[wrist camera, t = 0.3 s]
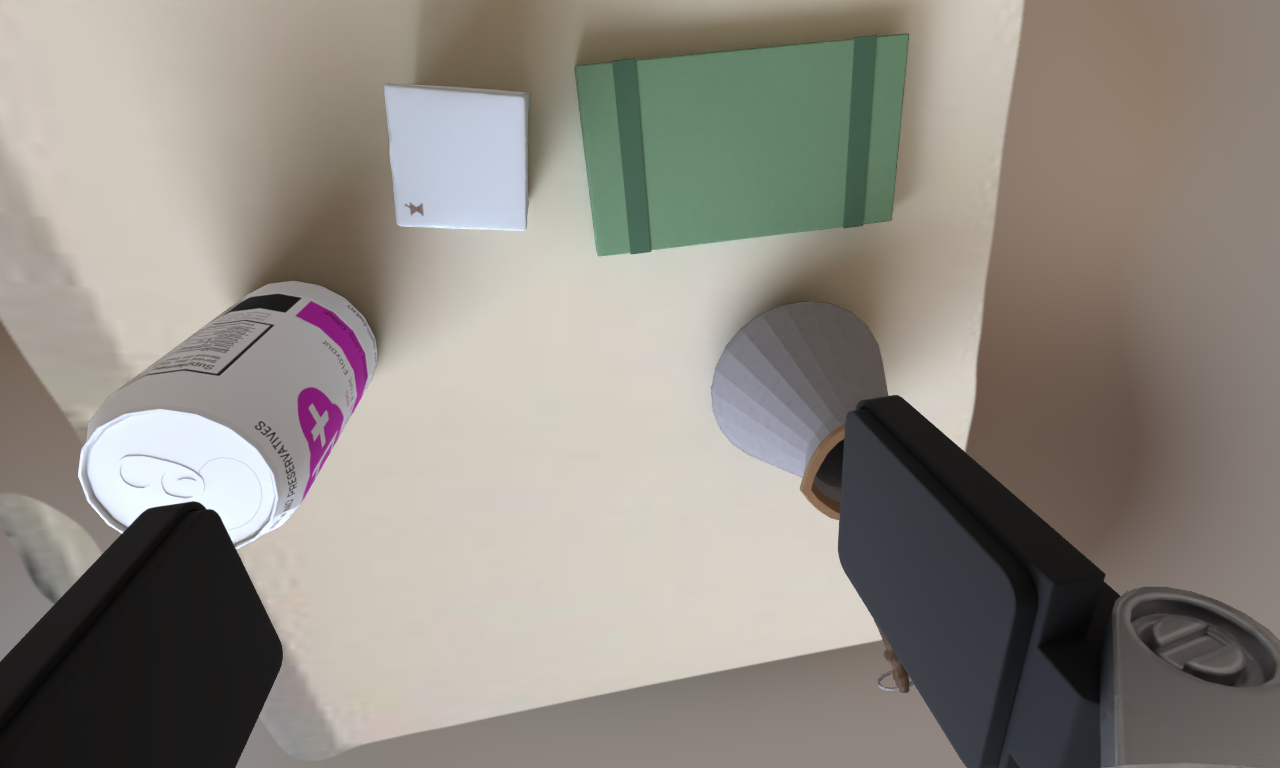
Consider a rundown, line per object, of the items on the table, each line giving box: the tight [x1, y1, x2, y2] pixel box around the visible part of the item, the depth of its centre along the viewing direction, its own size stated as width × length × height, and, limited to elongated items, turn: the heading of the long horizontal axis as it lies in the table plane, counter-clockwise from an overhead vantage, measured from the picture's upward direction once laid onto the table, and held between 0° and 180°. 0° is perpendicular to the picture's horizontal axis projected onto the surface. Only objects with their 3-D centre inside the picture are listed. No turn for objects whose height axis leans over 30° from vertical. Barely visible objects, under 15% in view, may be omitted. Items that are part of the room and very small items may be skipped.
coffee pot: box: [711, 301, 914, 693], centre depth 39 cm, size 21×12×15 cm, turn 14°
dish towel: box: [575, 34, 909, 256], centre depth 36 cm, size 10×18×2 cm, turn 95°
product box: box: [384, 84, 529, 231], centre depth 31 cm, size 6×6×7 cm
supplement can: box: [78, 281, 378, 549], centre depth 31 cm, size 8×8×15 cm
